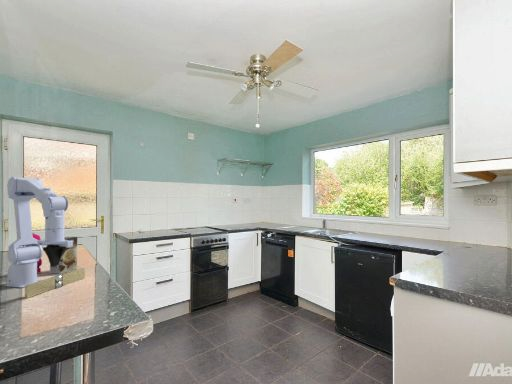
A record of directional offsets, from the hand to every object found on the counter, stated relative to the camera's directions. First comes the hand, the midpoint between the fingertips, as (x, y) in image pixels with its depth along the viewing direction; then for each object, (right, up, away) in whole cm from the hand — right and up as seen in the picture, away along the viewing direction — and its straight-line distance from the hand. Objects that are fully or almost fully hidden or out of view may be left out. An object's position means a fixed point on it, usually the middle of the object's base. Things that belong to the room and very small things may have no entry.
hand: (54, 265), depth 96 cm
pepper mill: (-32, -12, +27) cm, 43 cm away
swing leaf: (-5, -10, +1) cm, 11 cm away
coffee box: (-19, -11, +30) cm, 37 cm away
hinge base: (-3, -11, +11) cm, 16 cm away
